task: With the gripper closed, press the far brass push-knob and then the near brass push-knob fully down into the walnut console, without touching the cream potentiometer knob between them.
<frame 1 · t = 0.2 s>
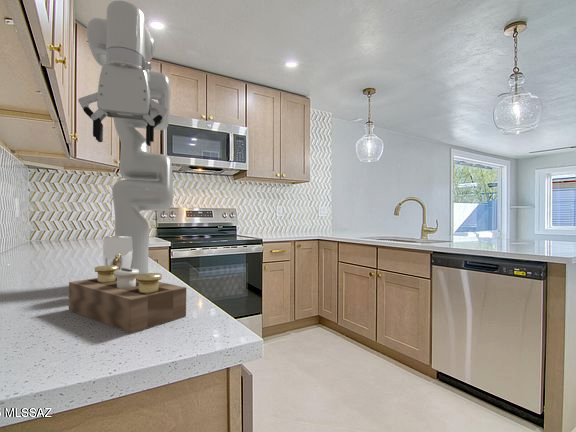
hand: (124, 142, 70), 37 cm above the table, tool pointing down, fingers open, 9 cm apart
brass knob A: (148, 290, 64), point 6 cm above the table, slide at 0.0 cm
walnut console: (125, 312, 69), on the table
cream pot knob: (126, 283, 69), point 6 cm above the table, slide at 0.0 cm
beer glass: (117, 293, 85), on the table
brass knob B: (106, 280, 73), point 6 cm above the table, slide at 0.0 cm
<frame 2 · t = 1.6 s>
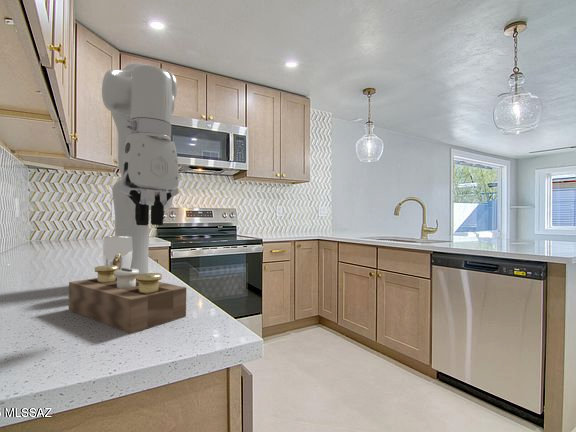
hand: (149, 224, 64), 19 cm above the table, tool pointing down, fingers closed
nothing on the table moved.
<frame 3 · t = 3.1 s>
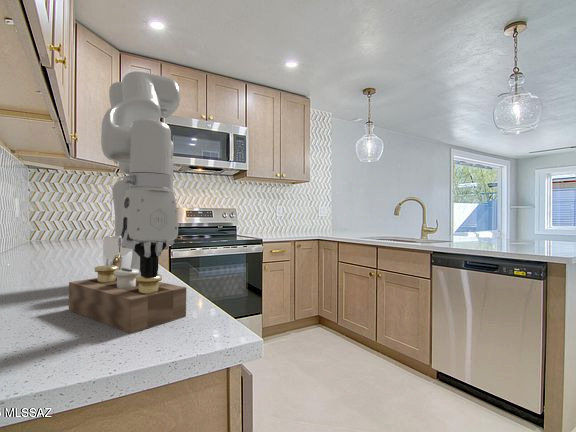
hand: (149, 276, 64), 9 cm above the table, tool pointing down, fingers closed
brass knob A: (148, 291, 64), point 6 cm above the table, slide at 0.2 cm, touching gripper
everything else where it was.
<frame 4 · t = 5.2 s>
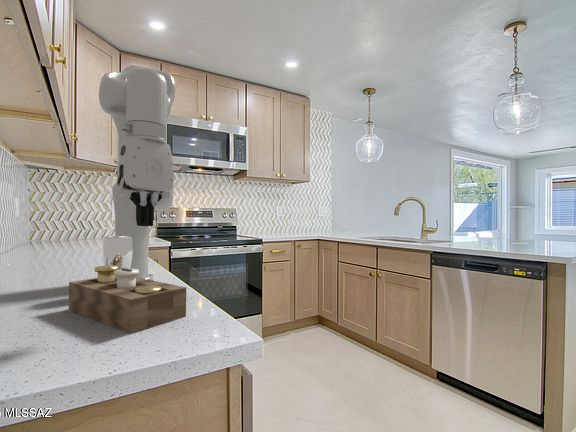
hand: (144, 225, 65), 19 cm above the table, tool pointing down, fingers closed
brass knob A: (148, 303, 64), point 3 cm above the table, slide at 2.6 cm
everything else where it was.
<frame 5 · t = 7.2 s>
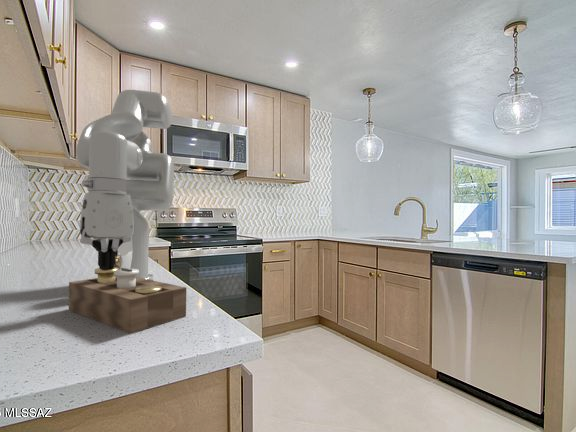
hand: (106, 268, 73), 9 cm above the table, tool pointing down, fingers closed
brass knob B: (106, 282, 73), point 6 cm above the table, slide at 0.5 cm, touching gripper
everything else where it was.
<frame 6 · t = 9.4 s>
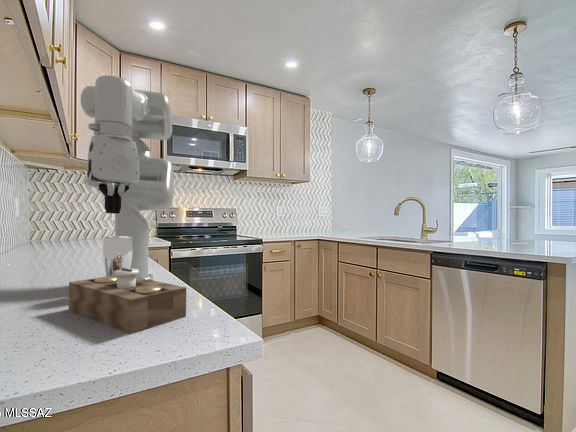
hand: (112, 213, 74), 21 cm above the table, tool pointing down, fingers closed
brass knob B: (106, 291, 73), point 3 cm above the table, slide at 2.6 cm
everything else where it was.
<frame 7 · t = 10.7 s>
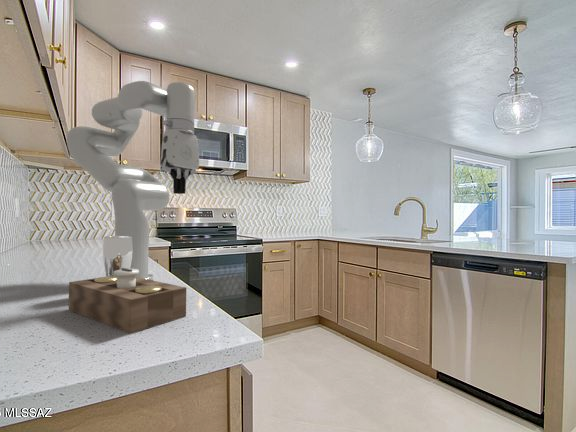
hand: (179, 193, 92), 27 cm above the table, tool pointing down, fingers closed
nothing on the table moved.
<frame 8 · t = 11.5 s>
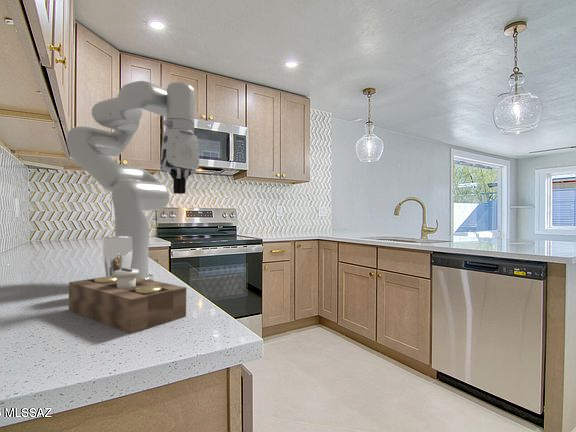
hand: (179, 193, 92), 27 cm above the table, tool pointing down, fingers closed
nothing on the table moved.
at the end: brass knob A slide at 2.6 cm; brass knob B slide at 2.6 cm; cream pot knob slide at 0.0 cm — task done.
